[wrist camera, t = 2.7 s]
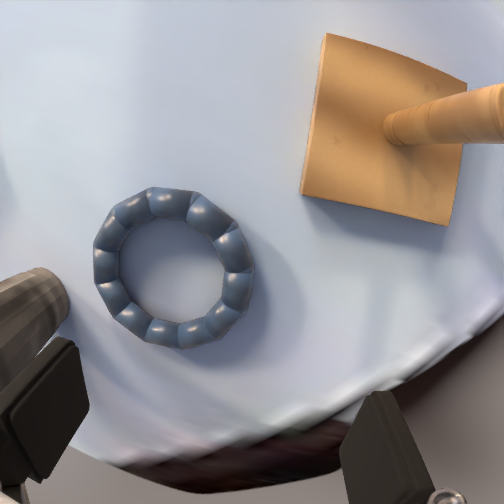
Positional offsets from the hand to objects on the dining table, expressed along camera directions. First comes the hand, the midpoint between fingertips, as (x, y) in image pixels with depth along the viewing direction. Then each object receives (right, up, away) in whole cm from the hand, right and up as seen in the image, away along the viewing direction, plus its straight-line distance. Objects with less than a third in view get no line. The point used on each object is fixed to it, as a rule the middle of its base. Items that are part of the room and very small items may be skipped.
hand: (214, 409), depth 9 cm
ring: (-4, +4, +8) cm, 10 cm away
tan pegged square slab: (+9, +12, +6) cm, 16 cm away
